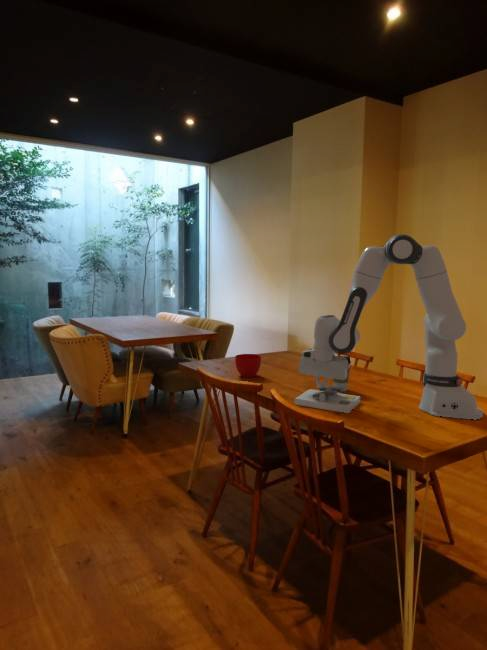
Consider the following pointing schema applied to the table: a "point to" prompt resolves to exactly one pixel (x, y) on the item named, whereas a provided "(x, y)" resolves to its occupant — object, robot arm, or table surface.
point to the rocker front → (327, 393)
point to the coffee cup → (344, 382)
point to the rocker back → (339, 389)
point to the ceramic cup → (248, 364)
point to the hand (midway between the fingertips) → (321, 386)
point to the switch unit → (328, 401)
